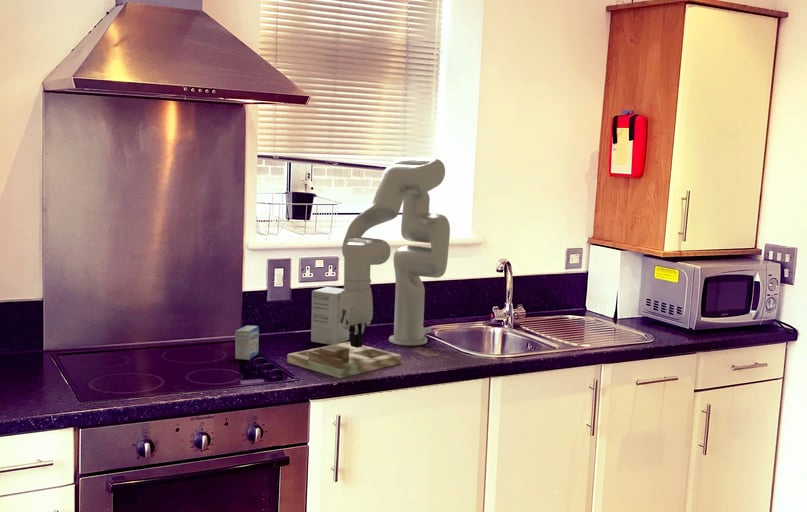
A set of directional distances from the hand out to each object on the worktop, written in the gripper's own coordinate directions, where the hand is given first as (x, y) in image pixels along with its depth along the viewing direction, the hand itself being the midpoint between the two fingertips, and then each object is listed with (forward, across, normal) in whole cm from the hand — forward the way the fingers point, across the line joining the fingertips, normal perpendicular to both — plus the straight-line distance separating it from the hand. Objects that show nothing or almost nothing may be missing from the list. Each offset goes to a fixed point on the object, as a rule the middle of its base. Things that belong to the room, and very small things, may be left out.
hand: (356, 346), depth 257 cm
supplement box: (+6, -15, -26) cm, 31 cm away
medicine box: (+5, +18, -27) cm, 33 cm away
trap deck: (+5, +1, -3) cm, 7 cm away
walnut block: (+3, +10, +1) cm, 10 cm away
